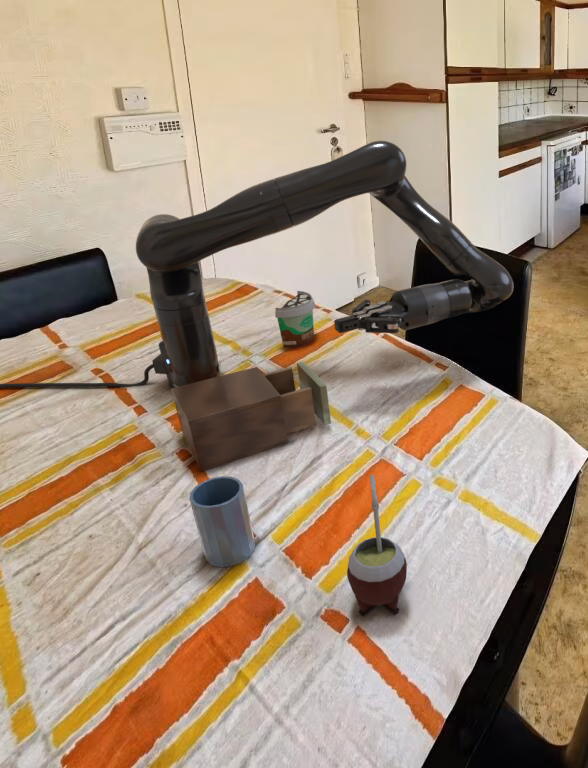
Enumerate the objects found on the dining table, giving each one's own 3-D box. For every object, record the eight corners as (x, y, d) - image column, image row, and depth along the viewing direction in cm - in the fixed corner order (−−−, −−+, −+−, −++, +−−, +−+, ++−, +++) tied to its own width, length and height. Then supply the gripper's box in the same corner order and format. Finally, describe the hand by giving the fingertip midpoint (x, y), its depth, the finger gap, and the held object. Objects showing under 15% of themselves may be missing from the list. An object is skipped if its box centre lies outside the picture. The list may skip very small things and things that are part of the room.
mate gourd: (377, 633, 72) (368, 535, 65) (335, 598, 77) (321, 503, 70) (422, 596, 77) (418, 500, 70) (380, 565, 82) (372, 473, 75)
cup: (196, 565, 82) (180, 505, 77) (218, 532, 88) (204, 474, 83) (243, 569, 81) (229, 509, 77) (262, 535, 87) (250, 477, 82)
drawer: (313, 395, 120) (308, 359, 117) (337, 421, 112) (333, 383, 108) (236, 417, 113) (228, 380, 109) (256, 447, 105) (248, 407, 101)
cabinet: (265, 412, 116) (257, 366, 112) (288, 443, 107) (280, 395, 103) (183, 436, 109) (170, 388, 105) (200, 471, 100) (188, 421, 96)
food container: (306, 352, 139) (300, 310, 135) (280, 350, 140) (274, 308, 136) (327, 331, 150) (322, 291, 145) (303, 329, 151) (298, 289, 146)
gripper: (402, 278, 122) (319, 296, 114) (438, 297, 112) (349, 318, 104) (404, 313, 126) (324, 333, 117) (439, 335, 116) (354, 359, 108)
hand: (336, 326), depth 111 cm, fingers closed
